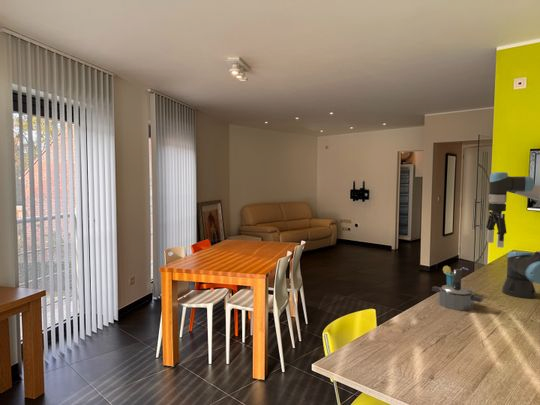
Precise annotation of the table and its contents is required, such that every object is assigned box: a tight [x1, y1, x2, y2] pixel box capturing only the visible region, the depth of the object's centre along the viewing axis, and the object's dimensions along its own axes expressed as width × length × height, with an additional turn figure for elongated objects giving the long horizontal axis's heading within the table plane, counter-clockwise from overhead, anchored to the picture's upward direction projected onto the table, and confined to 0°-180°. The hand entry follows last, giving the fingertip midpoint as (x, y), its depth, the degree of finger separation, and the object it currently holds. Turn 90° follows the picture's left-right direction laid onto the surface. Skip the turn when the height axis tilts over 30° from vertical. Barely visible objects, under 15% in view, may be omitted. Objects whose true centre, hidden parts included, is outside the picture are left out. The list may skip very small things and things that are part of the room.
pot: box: [431, 285, 484, 311], centre depth 180 cm, size 23×15×7 cm, turn 42°
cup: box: [442, 265, 470, 285], centre depth 199 cm, size 14×8×15 cm, turn 44°
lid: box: [441, 268, 472, 295], centre depth 179 cm, size 13×13×10 cm
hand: (495, 244), depth 186 cm, fingers open, 13 cm apart
